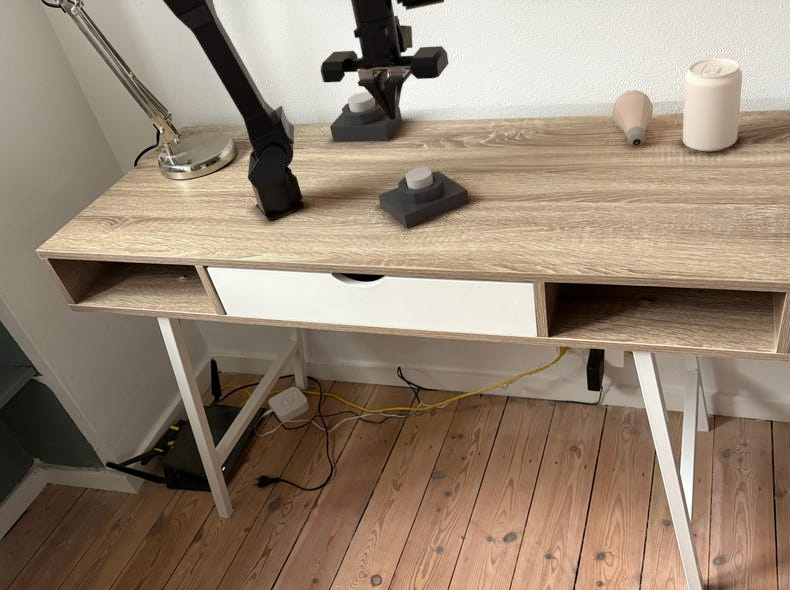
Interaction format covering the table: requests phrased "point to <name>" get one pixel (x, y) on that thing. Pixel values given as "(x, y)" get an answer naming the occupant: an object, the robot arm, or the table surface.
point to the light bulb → (633, 115)
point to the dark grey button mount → (364, 125)
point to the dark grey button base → (423, 200)
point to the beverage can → (712, 104)
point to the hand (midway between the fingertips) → (393, 118)
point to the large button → (361, 102)
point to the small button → (419, 178)
